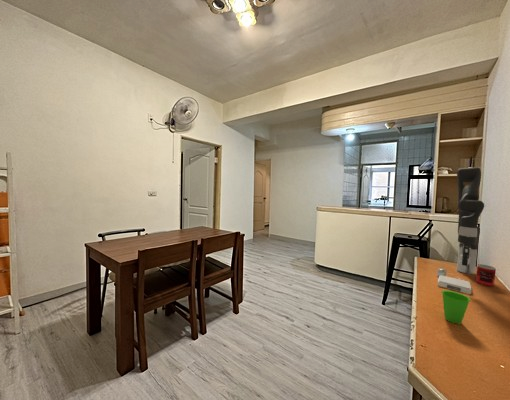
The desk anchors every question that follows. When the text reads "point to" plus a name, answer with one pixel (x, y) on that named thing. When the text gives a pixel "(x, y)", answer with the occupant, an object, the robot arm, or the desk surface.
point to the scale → (454, 284)
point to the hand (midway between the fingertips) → (464, 264)
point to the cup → (454, 306)
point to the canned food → (485, 275)
